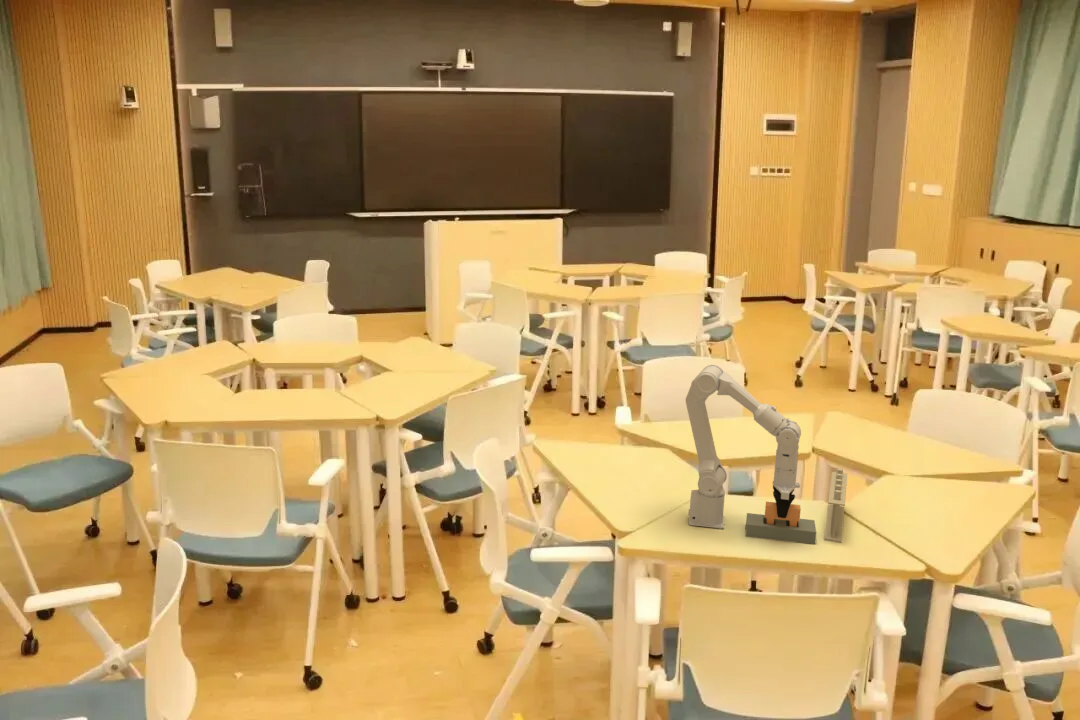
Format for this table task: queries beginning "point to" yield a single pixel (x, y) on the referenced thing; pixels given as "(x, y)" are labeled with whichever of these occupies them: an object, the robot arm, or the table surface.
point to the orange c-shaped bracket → (791, 516)
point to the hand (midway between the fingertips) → (781, 514)
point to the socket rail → (780, 529)
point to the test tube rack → (836, 507)
